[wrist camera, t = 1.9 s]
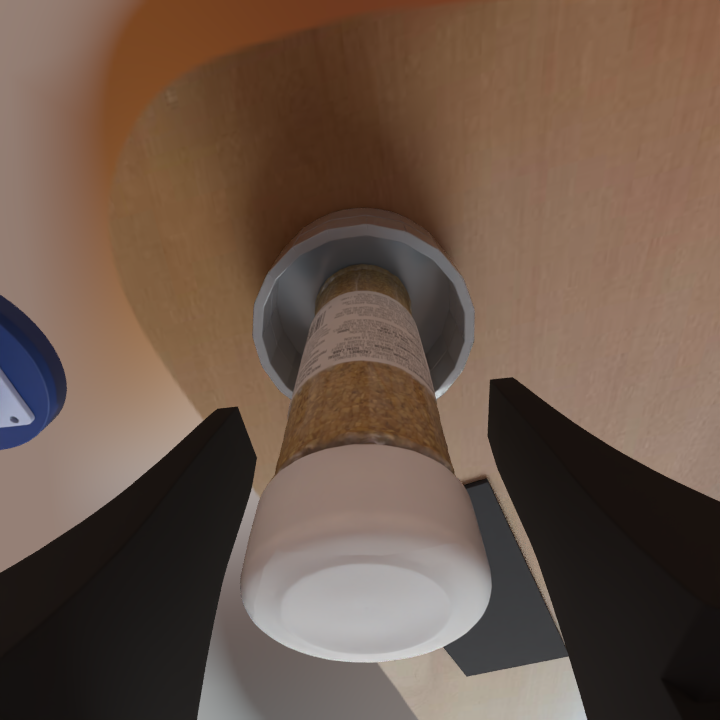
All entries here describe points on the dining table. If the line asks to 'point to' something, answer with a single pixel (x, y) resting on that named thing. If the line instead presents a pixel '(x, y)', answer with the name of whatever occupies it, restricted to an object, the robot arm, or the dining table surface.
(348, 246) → the basin
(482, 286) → the dining table surface
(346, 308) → the sprinkles bottle
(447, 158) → the dining table surface
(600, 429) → the dining table surface
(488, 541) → the mat
